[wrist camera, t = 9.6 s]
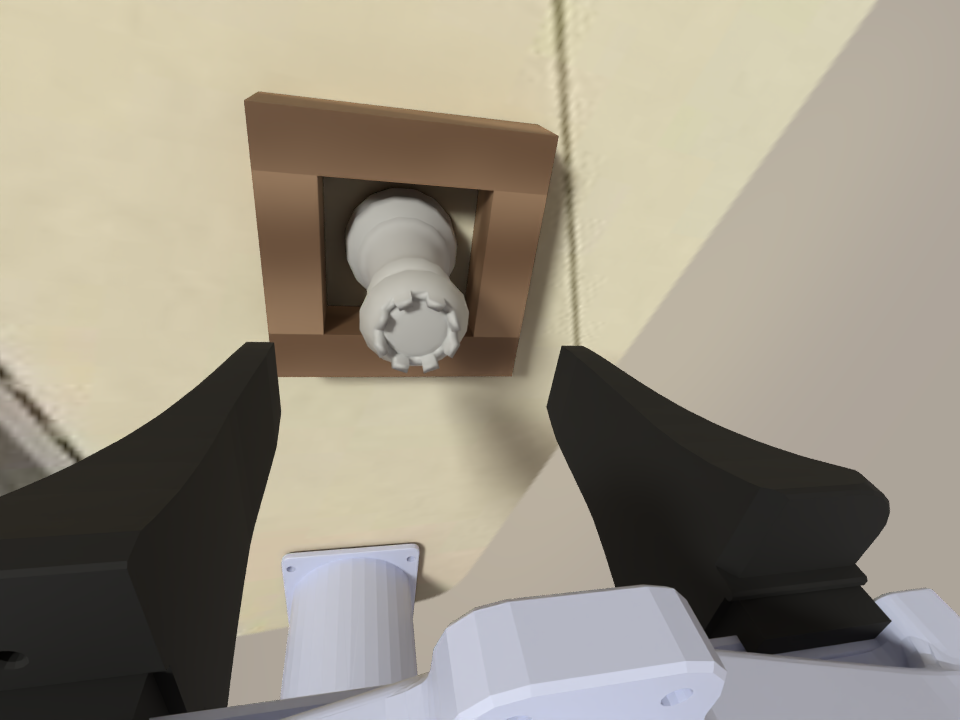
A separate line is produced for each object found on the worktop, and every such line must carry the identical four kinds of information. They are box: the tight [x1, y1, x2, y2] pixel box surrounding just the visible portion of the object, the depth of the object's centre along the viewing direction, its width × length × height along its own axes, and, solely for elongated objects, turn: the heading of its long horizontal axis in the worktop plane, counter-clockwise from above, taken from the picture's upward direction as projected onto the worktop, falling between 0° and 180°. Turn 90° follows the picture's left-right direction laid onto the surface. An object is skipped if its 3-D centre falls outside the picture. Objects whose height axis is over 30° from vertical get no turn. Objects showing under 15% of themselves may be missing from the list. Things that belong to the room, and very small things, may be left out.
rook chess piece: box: [345, 188, 469, 373], centre depth 18 cm, size 4×4×8 cm
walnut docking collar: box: [244, 92, 559, 377], centre depth 20 cm, size 10×10×2 cm
